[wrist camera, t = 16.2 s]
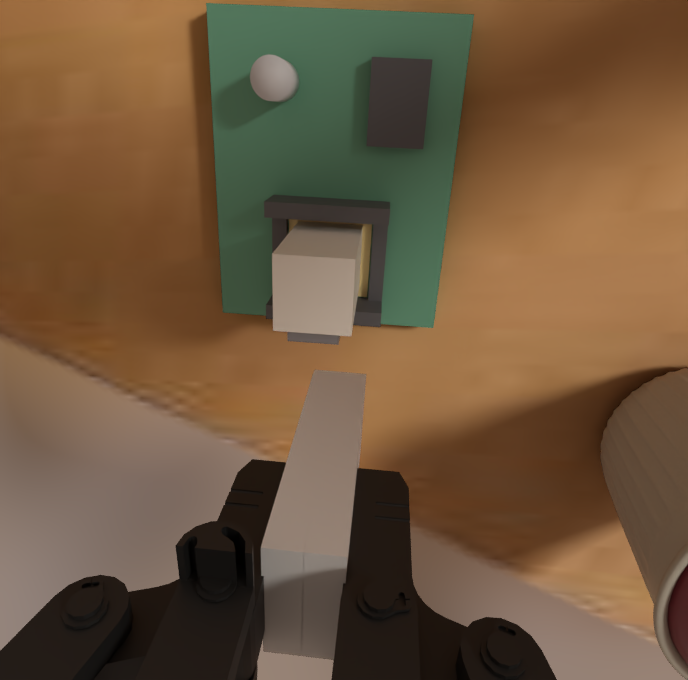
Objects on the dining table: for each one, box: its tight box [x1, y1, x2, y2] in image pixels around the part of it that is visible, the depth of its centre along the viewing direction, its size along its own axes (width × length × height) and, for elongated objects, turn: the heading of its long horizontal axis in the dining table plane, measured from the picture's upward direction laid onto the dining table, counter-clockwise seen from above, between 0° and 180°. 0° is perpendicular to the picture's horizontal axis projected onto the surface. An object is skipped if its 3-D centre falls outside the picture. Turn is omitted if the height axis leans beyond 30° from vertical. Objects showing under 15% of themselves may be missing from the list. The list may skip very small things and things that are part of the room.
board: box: [206, 3, 474, 328], centre depth 34 cm, size 20×16×4 cm
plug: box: [272, 221, 363, 345], centre depth 32 cm, size 5×4×9 cm
